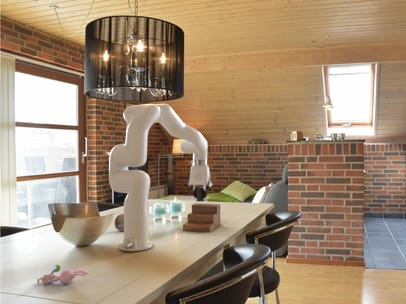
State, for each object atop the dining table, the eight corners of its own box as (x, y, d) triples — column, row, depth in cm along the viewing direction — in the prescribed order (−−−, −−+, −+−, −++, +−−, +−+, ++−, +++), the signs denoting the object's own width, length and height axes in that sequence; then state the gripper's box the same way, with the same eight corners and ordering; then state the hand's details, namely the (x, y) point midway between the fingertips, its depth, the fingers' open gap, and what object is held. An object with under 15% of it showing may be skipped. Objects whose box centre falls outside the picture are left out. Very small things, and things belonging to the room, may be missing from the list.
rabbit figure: (34, 291, 102) (82, 284, 100) (31, 271, 102) (78, 263, 100) (48, 283, 108) (93, 276, 106) (45, 264, 108) (90, 257, 106)
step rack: (209, 232, 167) (209, 209, 167) (182, 230, 171) (182, 208, 171) (220, 224, 183) (220, 204, 183) (195, 223, 187) (195, 203, 187)
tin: (117, 232, 168) (117, 215, 168) (113, 231, 170) (113, 214, 170) (143, 226, 180) (142, 210, 180) (139, 226, 182) (139, 210, 182)
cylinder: (202, 201, 180) (202, 188, 180) (195, 201, 181) (195, 187, 181) (205, 200, 184) (205, 187, 184) (198, 200, 185) (198, 187, 185)
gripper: (182, 163, 181) (182, 198, 181) (212, 163, 177) (212, 199, 177) (188, 163, 189) (188, 196, 188) (217, 163, 184) (217, 197, 184)
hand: (200, 197), depth 183 cm, fingers closed on cylinder, 4 cm apart
